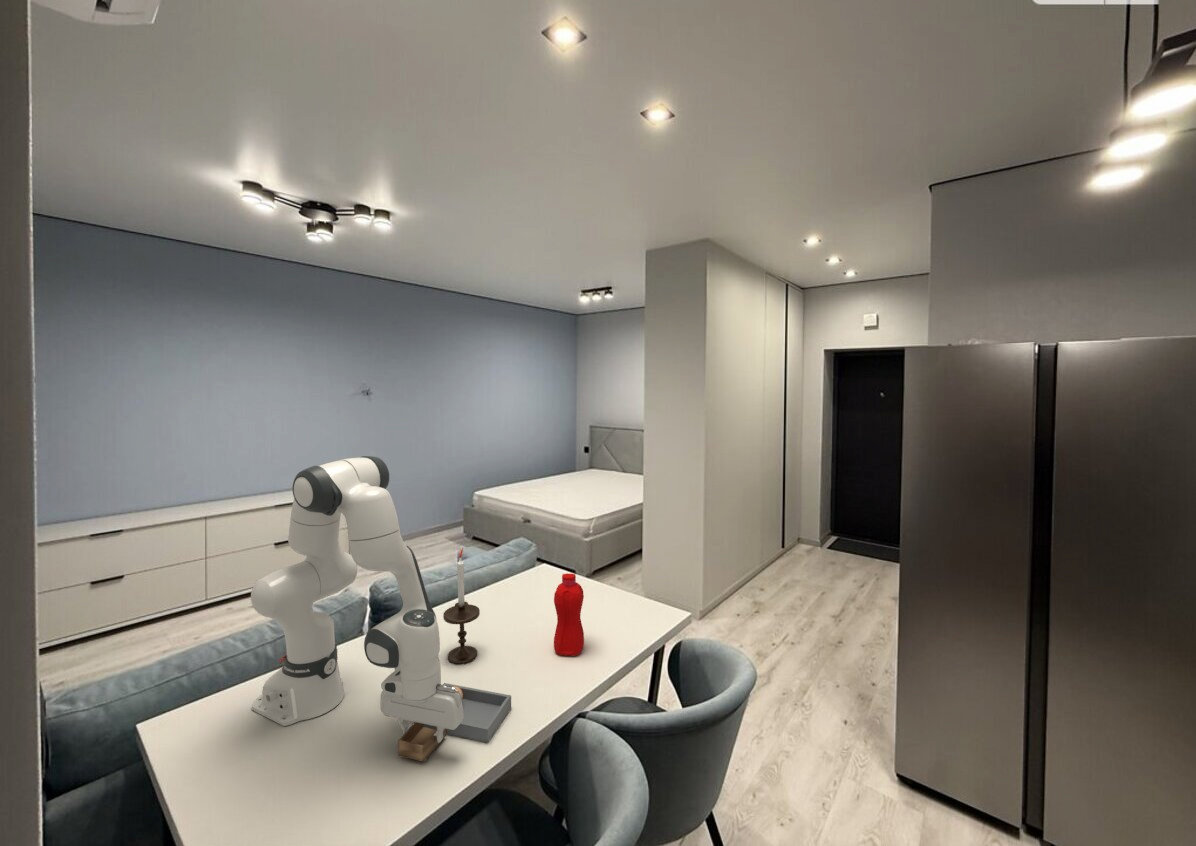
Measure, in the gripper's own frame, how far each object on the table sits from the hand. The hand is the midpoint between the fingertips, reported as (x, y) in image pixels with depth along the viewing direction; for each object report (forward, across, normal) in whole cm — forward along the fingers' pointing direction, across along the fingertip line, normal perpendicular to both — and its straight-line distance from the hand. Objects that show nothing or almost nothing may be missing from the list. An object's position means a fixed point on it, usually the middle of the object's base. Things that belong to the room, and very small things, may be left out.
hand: (422, 736), depth 115 cm
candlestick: (+3, +11, -37) cm, 38 cm away
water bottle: (+3, -20, -50) cm, 54 cm away
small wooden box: (+2, 0, 0) cm, 2 cm away
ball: (0, +1, -14) cm, 14 cm away
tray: (+3, -4, -12) cm, 13 cm away
